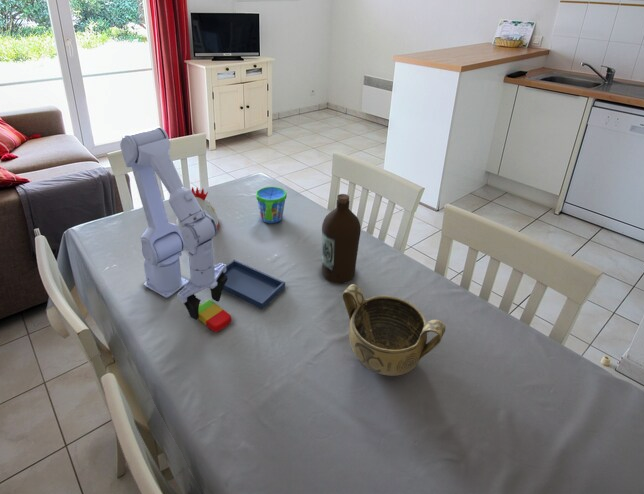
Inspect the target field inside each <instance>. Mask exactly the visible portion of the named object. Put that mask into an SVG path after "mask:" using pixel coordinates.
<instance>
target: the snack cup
mask: <svg viewBox="0 0 644 494" xmlns="http://www.w3.org/2000/svg"><path fill="white" fill-rule="evenodd" d="M287 196H288V195H287V190H285V189H284V188H282V187H278V186H266V187H262V188H260V189H258V190H257V191H256V192H255V198H256V200H257V204H258V210H259V215H260V220H261V221H262V222H265V223H267V224H276V223H278V222H281V220H282V219H283V215H284V210H285V204H286V199H287Z"/></svg>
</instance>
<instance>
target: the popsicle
mask: <svg viewBox="0 0 644 494" xmlns="http://www.w3.org/2000/svg"><path fill="white" fill-rule="evenodd" d="M197 320H199V322H201V323H202V324H203V325H205V326H206V327H207V328H209V329H210V330H211V331H212V332H214V333H218V332H220V331H222V330H223V329H224V328H226V327H228V326H229V325H230V324H231V323H232V316H231V314H230V313H229V312H227V311H226V310H224V309H223V308H222V307H220V306H219V305H218V304H217V303H216V302H214V300H212V299H208V300H205V302H203V303H202V304H201V303H200V304H199V317H198V319H197Z"/></svg>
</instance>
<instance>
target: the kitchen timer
mask: <svg viewBox="0 0 644 494" xmlns="http://www.w3.org/2000/svg"><path fill="white" fill-rule="evenodd" d="M190 190H191V191H192V193H193V194H194V196H195V198H196V200H197V202H198V203H199V205H200V207H201V209H202V211H204V210H205V212H207V214H208V215H210V216H211V217H212V218H213V219H214V221H215V223H216V226H217V231H218V229H219V227H220V226H219V218H218V214H217V212H216V210H215V208H214V206H213V204H212V203H211V202H210V201H209V200H208V199H207V196H208V194H209V191H206V193H205V189H204V188H202V189H201V191H199V188H198V187H196V189H194V187H193V186H192V187H191V189H190ZM175 225H177V226H178V227H179V230H180V232H181V231H182V228H183V227H182V226H181V224H180V222H179V220H178V218H177V217H176V223H175Z"/></svg>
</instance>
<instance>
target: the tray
mask: <svg viewBox="0 0 644 494" xmlns="http://www.w3.org/2000/svg"><path fill="white" fill-rule="evenodd" d="M225 265H226V272H225V273H223V274H224V275H226V276H227V277H228V280H227V281H226V283H225V285H224V287H223V290H222V291H224V292H226V293H228V294H230V295H232V296H234V297H235V298H238V299H240V300H242V301H243V302H245V303H248V304H250V305H252V306H254V307H256V308H258V309H260V310H264V309H265V308H266V307H267V306H269V304H270V303H271V302H272V301H274V300H275V299H276V297H277V296H279V295H280V294H281V293H282V292H283V291H284V290H285V289H286V281H283V280H281V279H278V278H276V277H274V276H272V275H270V274H267V273H265V272H263V271H261V270H258V269H257V268H254V267H252V266H249V265H248V264H245V263H243V262H241V261H238V260H236V259H233V260H231V261H229V263H228V264H225Z"/></svg>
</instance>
